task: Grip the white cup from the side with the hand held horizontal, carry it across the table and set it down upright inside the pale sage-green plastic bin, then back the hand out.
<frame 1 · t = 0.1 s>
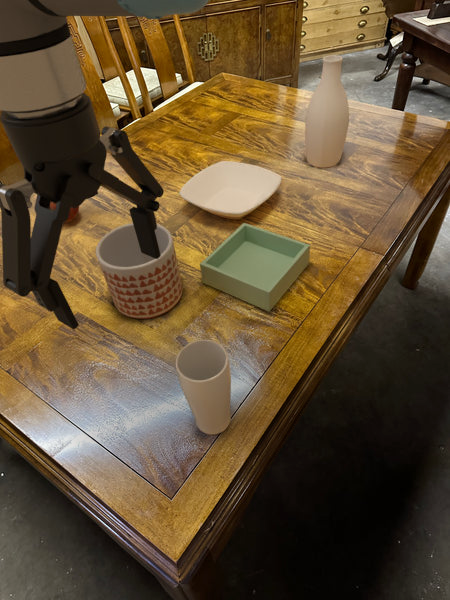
hand: (112, 286, 50), 24 cm above the table, tool pointing down, fingers open, 13 cm apart
bowl: (232, 204, 104), on the table
planter: (149, 295, 83), on the table
fruit: (67, 221, 104), on the table
white cup: (213, 420, 63), on the table
bin: (256, 273, 85), on the table
bottle: (323, 160, 116), on the table
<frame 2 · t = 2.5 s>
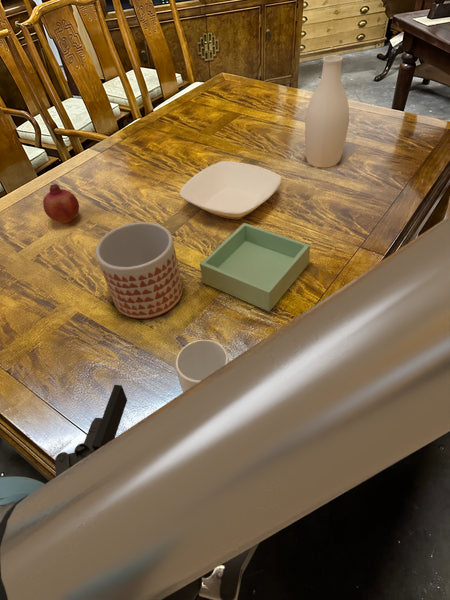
hand: (186, 397, 42), 20 cm above the table, tool horizontal, fingers open, 13 cm apart
nothing on the table moved.
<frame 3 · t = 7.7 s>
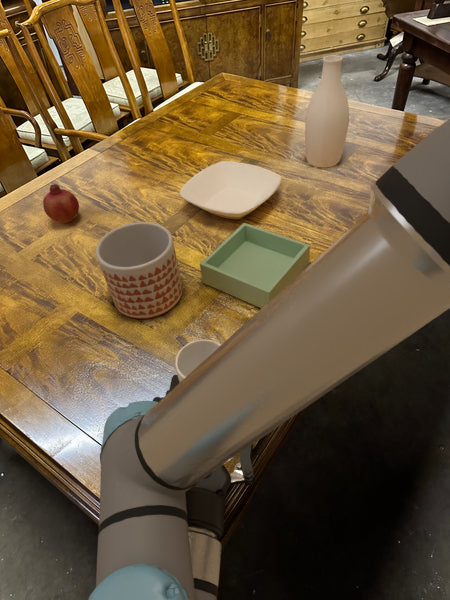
hand: (211, 359, 60), 8 cm above the table, tool horizontal, fingers closed on white cup, 6 cm apart
white cup: (213, 420, 63), on the table, touching gripper
everything else where it was.
when the fingers open (9 cm above the table, at t = 17.6 s): white cup stays where it is, resting on bin.
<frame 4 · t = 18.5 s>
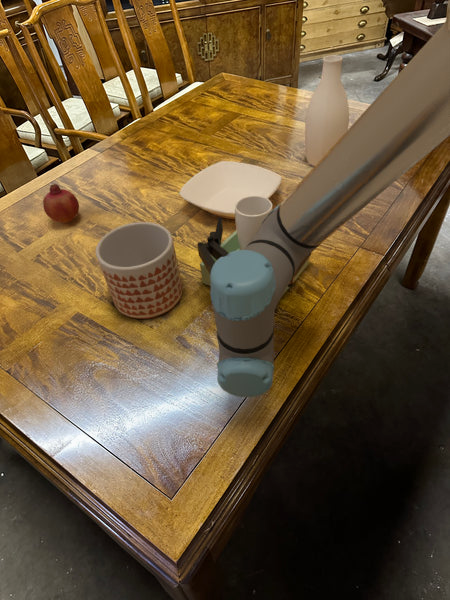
hand: (255, 223, 80), 10 cm above the table, tool horizontal, fingers open, 13 cm apart
white cup: (255, 270, 84), point 1 cm above the table, touching bin
everything else where it was.
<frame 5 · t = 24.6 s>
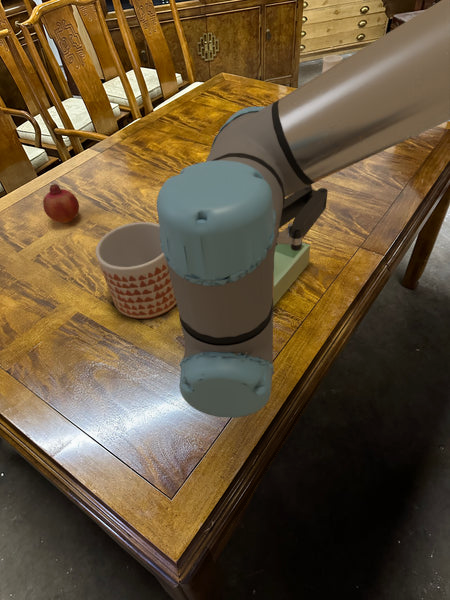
hand: (248, 169, 58), 28 cm above the table, tool horizontal, fingers open, 13 cm apart
nothing on the table moved.
at the end: white cup inside the target area in the bin (0.0 cm from its centre), point 0.8 cm above the bin's base; white cup tilted 0°; the gripper is holding nothing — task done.
